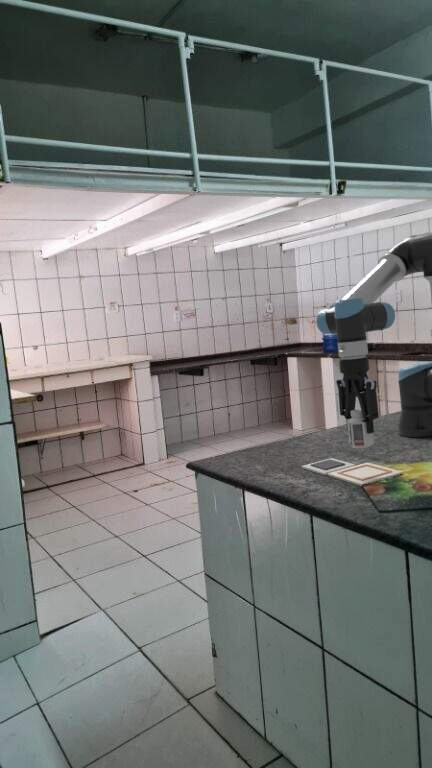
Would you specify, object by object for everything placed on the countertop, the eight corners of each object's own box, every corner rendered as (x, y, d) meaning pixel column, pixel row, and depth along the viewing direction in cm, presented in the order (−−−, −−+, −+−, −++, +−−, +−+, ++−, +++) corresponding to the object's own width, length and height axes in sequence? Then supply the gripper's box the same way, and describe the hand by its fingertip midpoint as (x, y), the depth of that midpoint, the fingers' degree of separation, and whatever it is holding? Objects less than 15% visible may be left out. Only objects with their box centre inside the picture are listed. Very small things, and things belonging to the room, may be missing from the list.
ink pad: (331, 460, 170) (331, 456, 170) (355, 466, 160) (355, 463, 160) (301, 468, 166) (301, 464, 166) (324, 475, 156) (323, 471, 156)
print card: (367, 464, 161) (367, 461, 161) (403, 473, 148) (403, 470, 148) (327, 475, 155) (327, 472, 155) (361, 486, 143) (361, 483, 142)
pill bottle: (376, 445, 150) (372, 409, 149) (362, 449, 147) (358, 413, 146) (360, 443, 154) (357, 407, 153) (346, 447, 152) (343, 411, 151)
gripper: (320, 358, 155) (329, 441, 157) (365, 359, 138) (373, 451, 141) (342, 355, 158) (350, 436, 161) (389, 355, 142) (396, 445, 144)
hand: (361, 443), depth 151 cm, fingers closed on pill bottle, 5 cm apart
